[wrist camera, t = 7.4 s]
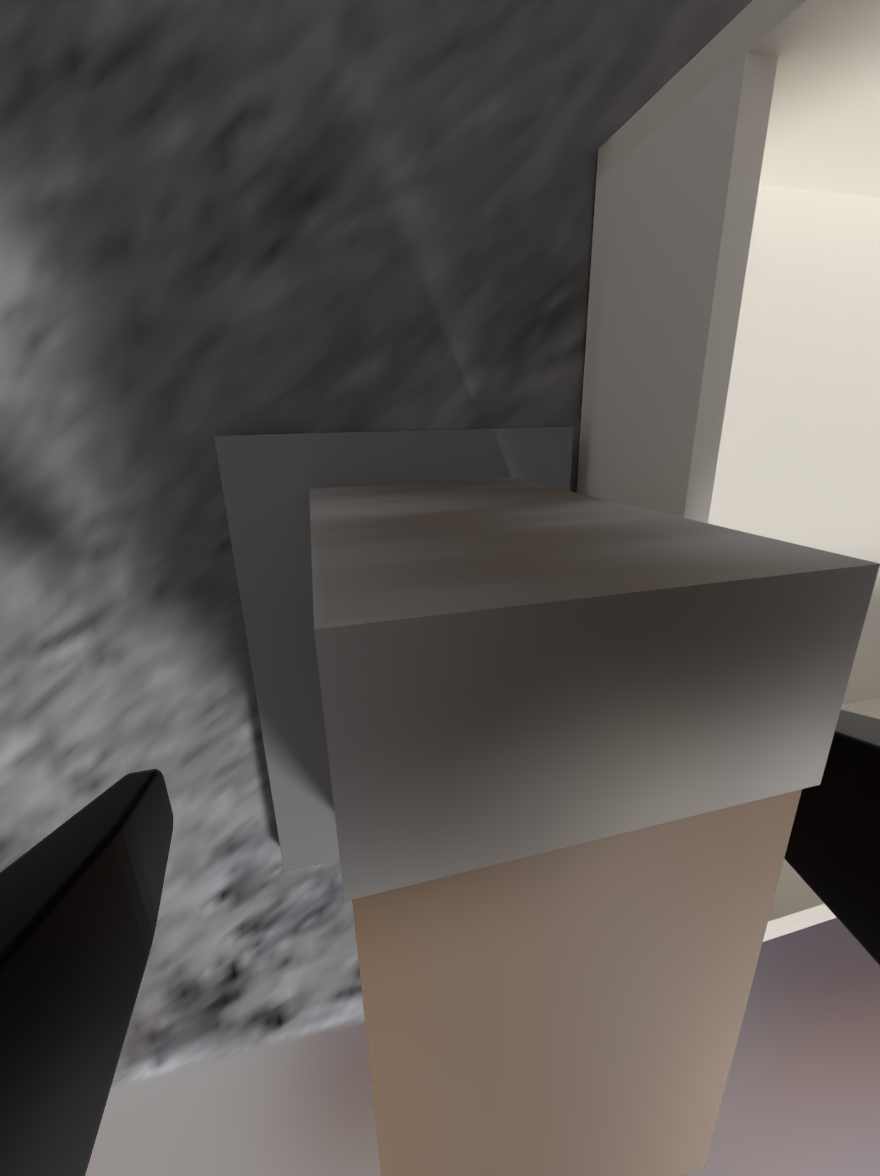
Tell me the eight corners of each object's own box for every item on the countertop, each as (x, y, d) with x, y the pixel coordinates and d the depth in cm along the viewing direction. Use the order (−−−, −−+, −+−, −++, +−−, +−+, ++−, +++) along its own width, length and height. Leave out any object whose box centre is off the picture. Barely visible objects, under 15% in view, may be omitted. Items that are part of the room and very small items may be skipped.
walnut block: (511, 477, 10) (880, 563, 4) (504, 791, 13) (713, 1176, 6) (308, 487, 9) (314, 628, 3) (344, 824, 12) (392, 1321, 5)
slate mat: (560, 426, 11) (573, 426, 10) (541, 796, 14) (550, 811, 13) (219, 435, 9) (213, 435, 9) (284, 851, 12) (284, 871, 12)
